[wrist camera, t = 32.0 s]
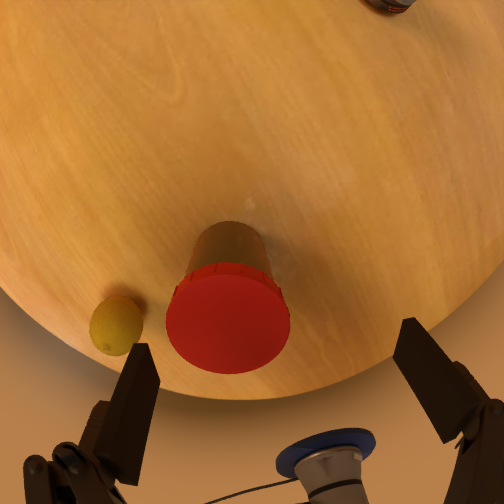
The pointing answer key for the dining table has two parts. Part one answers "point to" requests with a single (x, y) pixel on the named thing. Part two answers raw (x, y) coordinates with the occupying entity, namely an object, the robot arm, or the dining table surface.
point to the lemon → (116, 325)
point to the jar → (230, 248)
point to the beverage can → (392, 5)
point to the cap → (228, 318)
